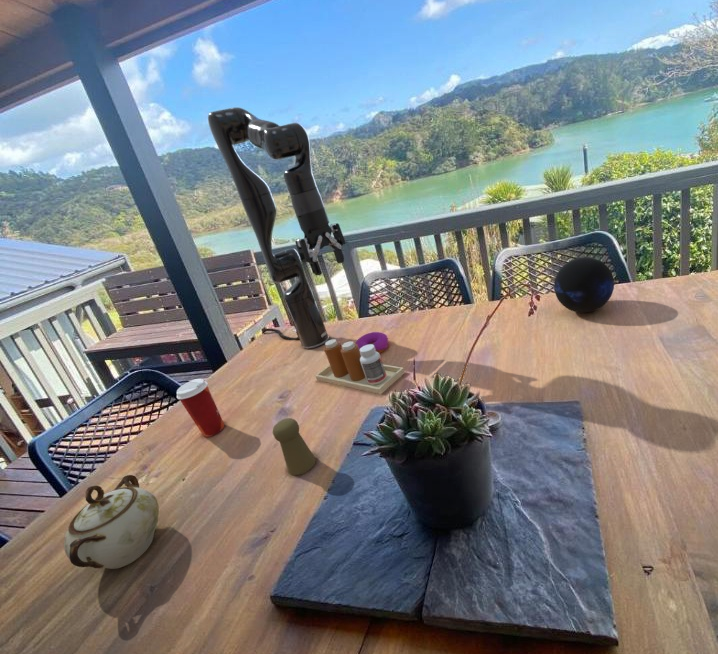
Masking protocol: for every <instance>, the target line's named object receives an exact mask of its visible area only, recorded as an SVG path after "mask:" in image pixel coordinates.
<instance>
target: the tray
mask: <svg viewBox="0 0 718 654" xmlns="http://www.w3.org/2000/svg"><path fill="white" fill-rule="evenodd" d="M383 366H384V369H385V372H386V376H387V377H386V379H385V380H384V381H383V382H382V383H380V384H376V385H370V384H368V382H367V380H366V377H365V378H364V379H362V380H359V381H352V380H351V378H350V376H349V373H348V374H347V375H345V376H343V377H339V378H337V377H334V374H333V372H332V369H331V366H330V364H328V365H327V366H325V368H323V369H322V370H321V371H319V372H318V373H316V374H315V375H314V376H315V379H316V381H319V382H324V383H328V384H333V385H337V386H341V387H345V388H350V389H356V390H359V391H364V392H368V393H373V394H377V395H383V393H384V392H385V391H387V389H389V388H390V387H391V386H392V385H393V384H394V383H396V382H397V380H399V379H400V378H401V377H403V375H404V374H405V373H406V371H405V368H404V367H401V366H395V365H389V364H383Z"/></svg>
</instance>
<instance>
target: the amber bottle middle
mask: <svg viewBox="0 0 718 654" xmlns="http://www.w3.org/2000/svg"><path fill="white" fill-rule="evenodd" d="M341 346H342V349H341V354H342V356H343V359H344V362H345V365H346V367H347V370H348V373H349V376H350V378H351V380H352V381H359V380H362V379H364V378H365V374H364V371H363V368H362V366H361V362H360V358H361V354H360V350H359V347H358V345H357V344H356V343H355V342H354V341H353V340H352V341H346V342H344V343H343V344H341Z"/></svg>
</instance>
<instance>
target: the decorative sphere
mask: <svg viewBox="0 0 718 654" xmlns="http://www.w3.org/2000/svg"><path fill="white" fill-rule="evenodd" d="M553 287H554V294H555V296H556V298H557V300H558V302H559V303H560V305H562V306H563V307H564V308H566V309H568V310H569V311H572V312H575V313H580V314H585V313H586V314H587V313H593V312H594V311H597V310H599V309H601V308H602V307H604V306H605V305H606V304H607V303H608V302H609V300H610V299H611V297H612V295H613V292H614V288H615V279H614V276H613V273H612V270H611V269H610V268H609V266H608V265H607V264H605V263H604V262H602V260H599V259H597V258H595V257H588V256H583V257H577V258H573V259H571V260H569V261H567V262H566V263H565V264H564V265H562V267H561V268H559V270H558V272H557V273H556V276H555V279H554V283H553Z"/></svg>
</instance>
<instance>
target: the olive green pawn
mask: <svg viewBox="0 0 718 654" xmlns="http://www.w3.org/2000/svg"><path fill="white" fill-rule="evenodd" d="M272 435H273V437H274V439H275V440H276V441H277V442H279V444H280V449H281V451H282V456H283V458H284V462H285V465H286V469H287V472H288V473H289V474H290V475H291V476H300V475H303V474H305V473H307V472H309V471H310V470H311V469H312V468H313V467H314V466H315V464H316V461H317V460H316V457H315V456H314V453H313V452H312V451H311V449H310V447H309V446H308V445H307V443H306V441H305V439H304V438H303V437H302V435H301V434H300V425H299V423H298V422H297V420H296V419H294V418H293V417H286V418H283V419H281V420H279V421H277V422H276V423H275V424H274V426H273V428H272Z"/></svg>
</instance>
